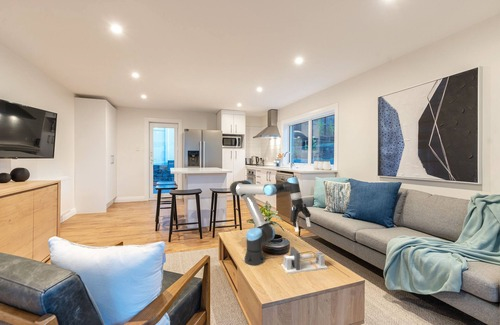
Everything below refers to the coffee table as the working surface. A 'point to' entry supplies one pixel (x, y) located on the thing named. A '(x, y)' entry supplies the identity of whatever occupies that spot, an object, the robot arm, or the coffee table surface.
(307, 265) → the pipe stand
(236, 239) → the coffee table surface
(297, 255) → the collar
